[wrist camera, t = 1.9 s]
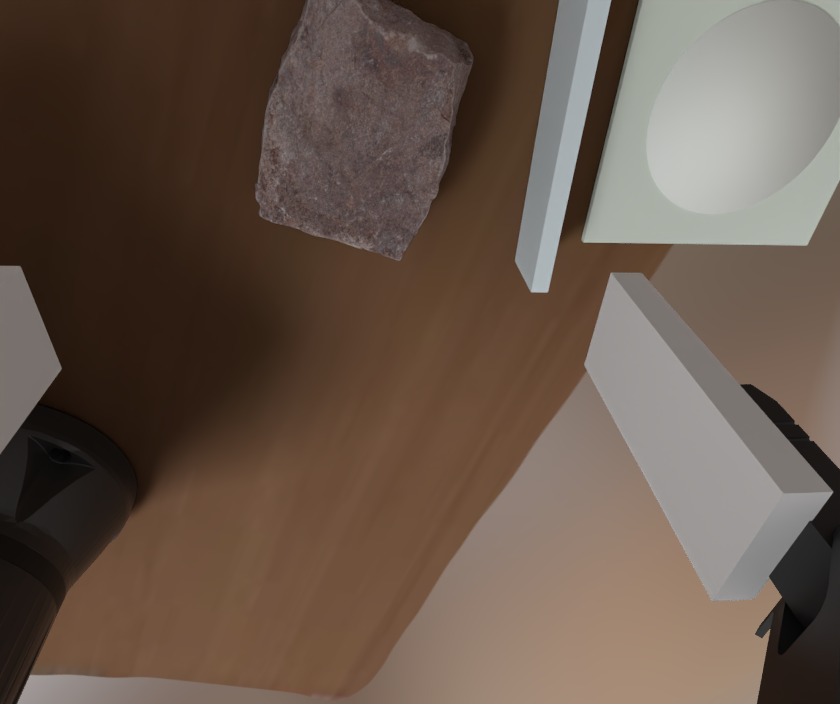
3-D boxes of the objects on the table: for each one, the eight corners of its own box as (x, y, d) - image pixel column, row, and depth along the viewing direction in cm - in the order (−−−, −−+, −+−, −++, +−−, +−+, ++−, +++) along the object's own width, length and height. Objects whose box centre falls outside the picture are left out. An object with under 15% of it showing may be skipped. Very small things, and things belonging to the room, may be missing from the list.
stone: (299, -43, 25) (291, -42, 21) (479, 35, 28) (500, 48, 24) (249, 199, 31) (236, 233, 27) (400, 244, 34) (407, 281, 30)
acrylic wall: (514, 260, 35) (530, 292, 32) (568, -54, 25) (599, -56, 22) (530, 261, 35) (547, 292, 32) (589, -53, 26) (622, -54, 22)
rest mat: (581, 239, 34) (583, 242, 34) (653, -62, 26) (658, -62, 25) (803, 242, 36) (808, 246, 35) (942, -40, 27) (950, -39, 27)
